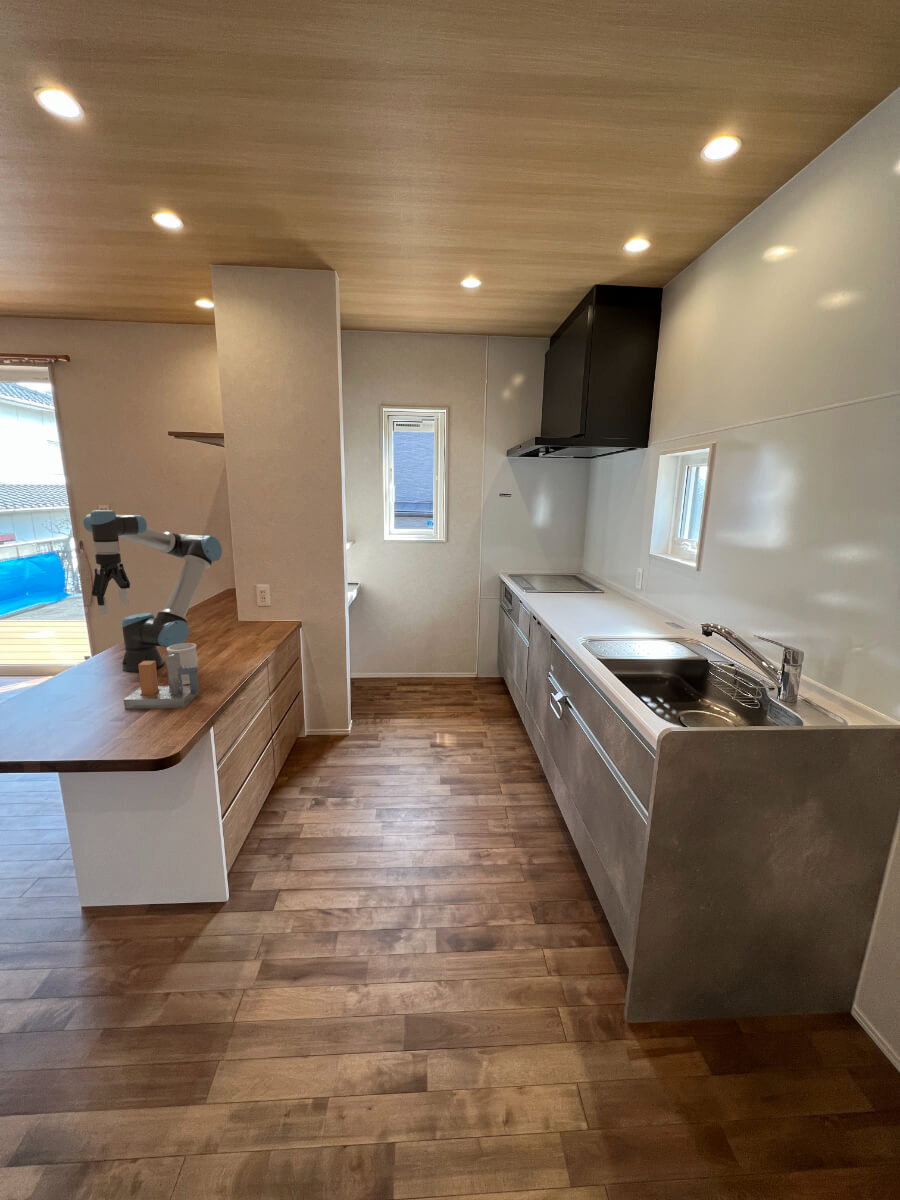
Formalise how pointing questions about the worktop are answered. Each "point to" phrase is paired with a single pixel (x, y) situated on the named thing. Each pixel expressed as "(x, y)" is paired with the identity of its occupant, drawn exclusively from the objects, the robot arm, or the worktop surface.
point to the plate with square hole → (168, 688)
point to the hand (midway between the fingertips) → (114, 609)
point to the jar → (185, 656)
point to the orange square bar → (148, 678)
